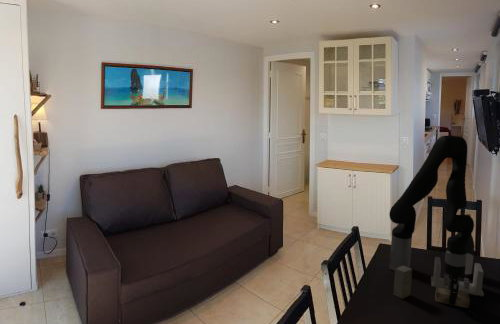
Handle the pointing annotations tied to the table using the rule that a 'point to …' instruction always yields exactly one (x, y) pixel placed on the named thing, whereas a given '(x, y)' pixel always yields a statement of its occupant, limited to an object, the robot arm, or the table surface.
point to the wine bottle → (469, 256)
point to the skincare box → (402, 281)
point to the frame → (463, 286)
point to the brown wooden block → (444, 297)
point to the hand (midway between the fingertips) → (451, 300)
